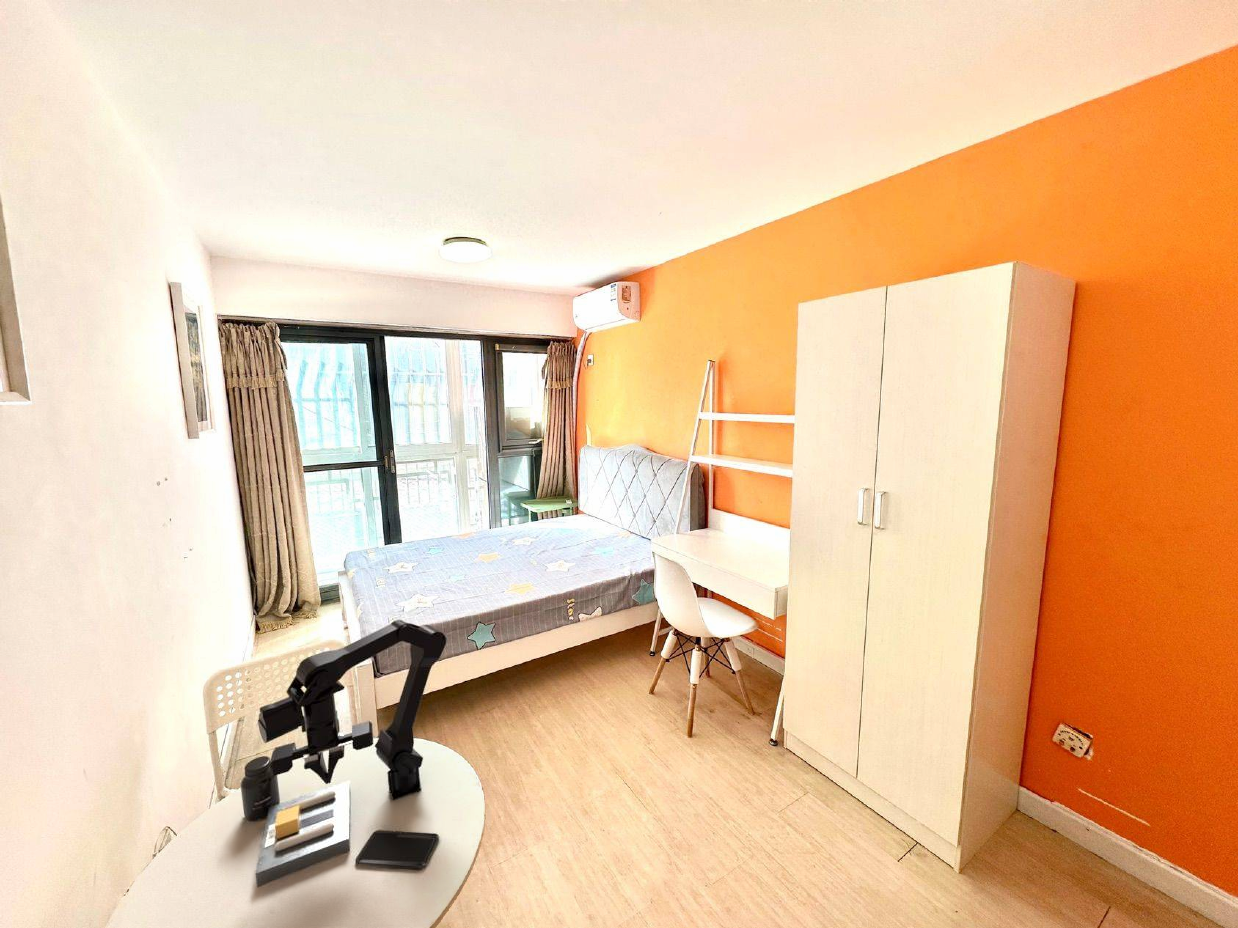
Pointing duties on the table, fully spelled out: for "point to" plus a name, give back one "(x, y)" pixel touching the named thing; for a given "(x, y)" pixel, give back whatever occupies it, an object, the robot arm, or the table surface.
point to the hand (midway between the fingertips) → (328, 782)
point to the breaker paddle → (287, 821)
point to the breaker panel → (313, 849)
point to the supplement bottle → (259, 789)
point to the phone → (397, 850)
